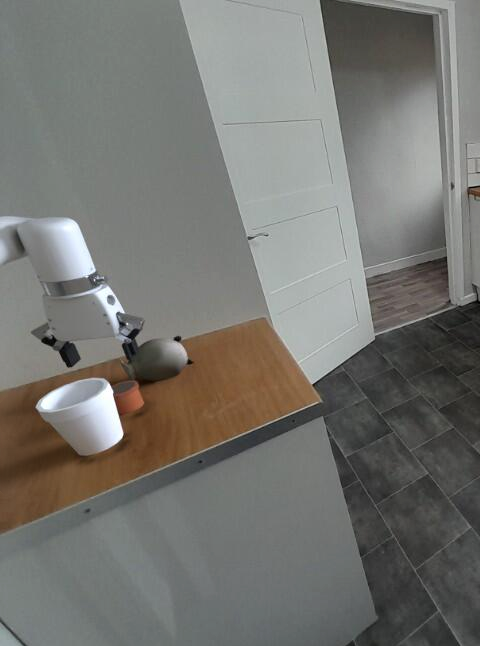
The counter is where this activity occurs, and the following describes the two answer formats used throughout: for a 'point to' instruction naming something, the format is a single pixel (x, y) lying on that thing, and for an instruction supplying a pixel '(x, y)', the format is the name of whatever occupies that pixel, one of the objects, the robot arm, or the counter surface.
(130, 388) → the pot
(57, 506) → the counter surface
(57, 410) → the foam cup
